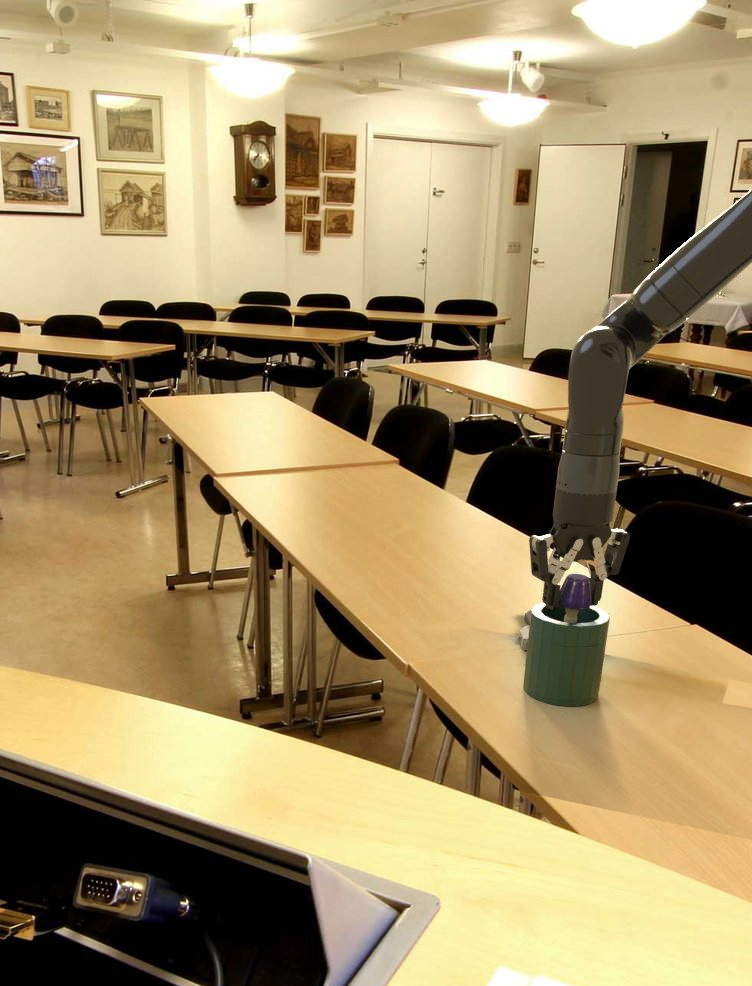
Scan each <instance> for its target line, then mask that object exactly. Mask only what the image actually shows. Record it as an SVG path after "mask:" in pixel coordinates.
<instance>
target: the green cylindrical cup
mask: <svg viewBox="0 0 752 986" xmlns="http://www.w3.org/2000/svg"><path fill="white" fill-rule="evenodd" d="M530 610H531V618H530V627H529V636H528V645H527V650H526V654H525V655H526V656H525V663H524V673H523V685H522V688H523V691H524V692H525V693H526V694H527V695H528V696H529V697H530V698H532V699H535V700H537V701H539V702H542V703H544V704H548V705H554V706H558V707H560V706H561V707H580V706H586V705H590V704H592V703H594V702H595V701H596V700H597V699H598V697H599V692H600V688H601V682H602V674H603V668H604V661H605V654H606V647H607V639H608V633H609V627H610V619H611V617H610V614H609V613H608V612H607V611H605V610H604V609H603V608H600V607H598V606H597V605H595V606H590V607H589V608H588V609H583V610H579V612H578V614H577V622H576V623H567V622H564V617H565V615H566V608H565V607H562V606H560V605H559V604H558V608H557V609H554V610H551V609H549V608H548V607H546V606H545V603H543V602H540V603H538V604H537V603H536V604H535V605H534V606H533V607H532V608H531V609H530Z"/></svg>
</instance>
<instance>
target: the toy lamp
mask: <svg viewBox="0 0 752 986" xmlns="http://www.w3.org/2000/svg"><path fill="white" fill-rule="evenodd" d="M588 577H589V576H588V575H585V574H581V573H570V574H568V575H567V576H566V577H565V578H564V581H563V582H562V585H561V586H560V594H559V602H558V604H559V605H560V606H562V607H565V608H566V615H565V617H564V622H567V623H576V622H577V614H578V612H579V610H583V609H588V608H589V607H590V606H591V604H592V600H591V588H590V580H589V578H588Z"/></svg>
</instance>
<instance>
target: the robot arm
mask: <svg viewBox="0 0 752 986" xmlns="http://www.w3.org/2000/svg"><path fill="white" fill-rule="evenodd" d="M751 264H752V188H751V189H750V190H749V191H748V192H747V193H746V194H744V195H743V196H742V197H741V198H740V199H738V201H736V202H735V203H734V204H733V205H731V206H730V207H729V208H728V209H726V210H725V211H724V212H722V213H721V214H720V215H718V216H717V217H716V218H714V219H713V220H712V221H711V222H709V223H708V224H707V225H705V227H703V228H702V229H701V230H699V231H698V232H696V233H695V234H694V235H693V236H692V237H690V238H689V239H688V240H687V241H686V242H684V243H682V245H681V246H680V247H678V248H677V249H676V250H675V251H674V252H673V253H672V254H671V255H669V256H668V257H667V258H666V259H665V260H664V261H663V262H662V263H661V264H659V266H658V267H656V268H655V270H653V271H652V272H651V273H650V274H648V276H647V277H646V278H645V279H643V281H642V282H640V284H638V286H637V287H636V288H635V289H634V290H633V291H632V293H631V295H630V296H629V297H628V298H627V299H626V300H625V301H624V302H623V303H621V304H620V305H619V306H618V307H617V308H615V309H614V310H613V311H612V312H611V313H610V314H608V315H607V316H606V317H605V318H604V319H603V320H602V321H600V322H599V323H598V324H597V325H595V326H594V327H593V328H592V329H591V330H589V331H587V332H586V333H584V334H583V335H582V336H580V338H578V340H577V341H576V342H575V344H574V346H573V348H572V350H571V353H570V358H569V364H568V365H569V366H568V378H567V379H568V381H567V407H568V408H567V409H568V410H567V416H566V421H565V424H564V425H565V426H564V434H563V443H562V444H563V445H562V451H561V456H560V460H559V464H558V468H557V475H556V476H557V477H556V485H555V494H554V501H553V502H554V503H553V511H552V518H553V519H552V521H553V525H552V527H551V530H550V531H549V533H548V534H545V535H541V536H538V535H535V534H533V535H531V536H530V537H529V540H528V542H529V543H528V544H529V545H528V546H529V556H530V557H529V559H530V571H531V575H532V576H533V577H534V578H537V579H538V580H540V581H541V582H543V590H542V603H545V606H546V607H548V608H549V609H551V610H554V609H557V608H558V602H559V594H560V589H561V584H560V582H561V580H562V579H563V576H564V575H565V573H566V572H567V571H568V570H570V568H571V566H572V564H573V563H574V562H579V561H584V562H585V563H586V566H587V569H588V570H587V571H588V573H589V575H590V576H587V577H588V578H589V580H590V588H591V600H592V604H591V606H598V604H599V602H600V601H601V599H602V596H603V589H604V582H605V580H606V579H607V577H609V576H611V575H613V576H616V575H618V574H619V573H620V570H621V567H622V564H623V560H624V557H625V555H626V551H627V548H628V545H629V543H630V539H631V534H630V532H627V531H625V530H623V529H620V528H618V527H617V528H613V529H612V528H611V523H612V521H613V519H614V511H615V506H616V499H617V493H618V483H619V478H620V469H621V467H620V465H621V464H620V463H621V462H620V459H621V458H620V457H621V449H622V441H623V433H624V427H625V426H624V425H625V415H624V414H625V413H624V410H623V406H624V401H625V395H626V390H627V383H628V377H629V372H630V369H631V368H632V367H634V366H635V365H636V364H637V363H638V362H639V361H640V360H641V359H642V358H643V357H644V356H645V355H646V354H647V353H649V351H651V349H653V348H654V347H655V346H656V345H657V344H658V343H659V342H660V341H661V340H662V339H663V338H664V337H666V336H667V335H669V334H670V333H672V332H673V331H675V330H677V328H679V327H680V326H682V325H683V324H684V323H685V322H687V321H688V319H691V317H692V316H694V315H695V314H696V313H697V312H699V310H701V309H702V308H703V307H704V306H705V305H706V304H708V302H710V301H711V300H712V299H713V298H714V297H716V296H717V295H718V294H719V293H720V292H722V290H724V289H725V288H726V287H727V286H728V285H729V284H730V283H731V282H732V281H734V280H735V278H737V277H738V276H739V275H740V274H741V273H742V272H743V271H744V270H746V269H747V268H748V267H749V266H750V265H751ZM606 543H607V545H606V549H605V553H604V551H603V547H604V546H605V544H606ZM551 545H552V546H553V549H552V551H551V553H550V555H548V552H550V550H551ZM561 558H562V559H561Z"/></svg>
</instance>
